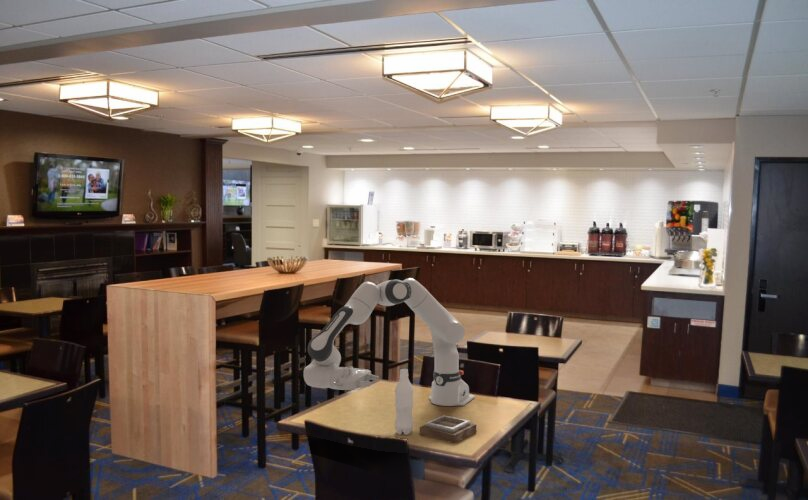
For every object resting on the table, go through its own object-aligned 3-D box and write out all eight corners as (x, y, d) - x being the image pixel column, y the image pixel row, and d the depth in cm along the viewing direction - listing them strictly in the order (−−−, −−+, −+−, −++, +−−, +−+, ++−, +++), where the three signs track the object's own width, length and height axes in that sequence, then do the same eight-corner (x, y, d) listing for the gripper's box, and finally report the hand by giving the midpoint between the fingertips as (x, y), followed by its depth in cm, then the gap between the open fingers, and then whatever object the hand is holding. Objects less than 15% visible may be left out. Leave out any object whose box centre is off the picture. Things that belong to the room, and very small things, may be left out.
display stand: (442, 424, 264) (442, 413, 264) (476, 431, 255) (476, 420, 255) (419, 434, 251) (419, 423, 251) (454, 443, 242) (454, 431, 242)
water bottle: (394, 430, 257) (394, 367, 256) (412, 429, 257) (412, 367, 256) (395, 436, 250) (395, 372, 248) (414, 435, 250) (414, 371, 249)
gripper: (331, 376, 250) (365, 379, 246) (350, 365, 269) (382, 367, 265) (331, 392, 250) (365, 395, 246) (350, 380, 270) (382, 383, 266)
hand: (374, 381), depth 256 cm, fingers open, 8 cm apart
